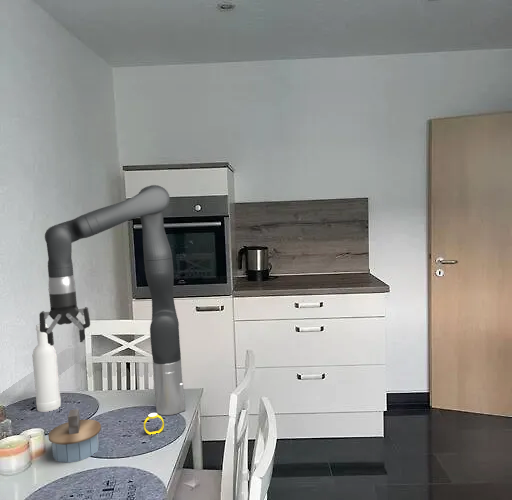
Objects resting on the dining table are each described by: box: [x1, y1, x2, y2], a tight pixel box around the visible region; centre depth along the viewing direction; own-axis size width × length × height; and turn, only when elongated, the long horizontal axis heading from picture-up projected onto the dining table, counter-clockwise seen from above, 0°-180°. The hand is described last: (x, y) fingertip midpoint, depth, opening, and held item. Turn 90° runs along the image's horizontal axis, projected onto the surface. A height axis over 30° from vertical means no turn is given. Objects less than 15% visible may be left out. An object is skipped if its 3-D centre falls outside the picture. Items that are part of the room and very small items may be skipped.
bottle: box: [31, 322, 62, 413], centre depth 173 cm, size 8×8×30 cm
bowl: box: [51, 433, 100, 464], centre depth 140 cm, size 12×12×6 cm
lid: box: [47, 408, 102, 445], centre depth 140 cm, size 14×14×6 cm
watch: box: [143, 412, 165, 436], centre depth 149 cm, size 6×3×6 cm, turn 107°
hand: (66, 343), depth 151 cm, fingers open, 8 cm apart
